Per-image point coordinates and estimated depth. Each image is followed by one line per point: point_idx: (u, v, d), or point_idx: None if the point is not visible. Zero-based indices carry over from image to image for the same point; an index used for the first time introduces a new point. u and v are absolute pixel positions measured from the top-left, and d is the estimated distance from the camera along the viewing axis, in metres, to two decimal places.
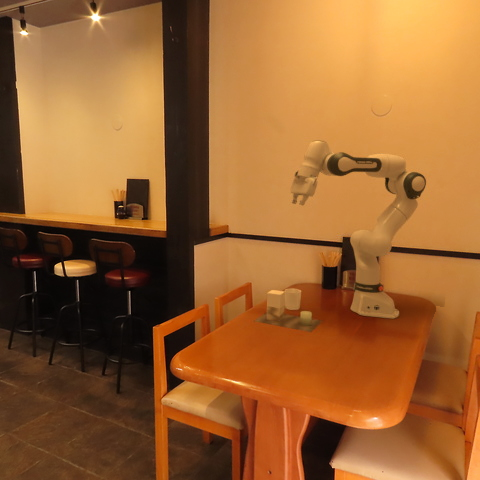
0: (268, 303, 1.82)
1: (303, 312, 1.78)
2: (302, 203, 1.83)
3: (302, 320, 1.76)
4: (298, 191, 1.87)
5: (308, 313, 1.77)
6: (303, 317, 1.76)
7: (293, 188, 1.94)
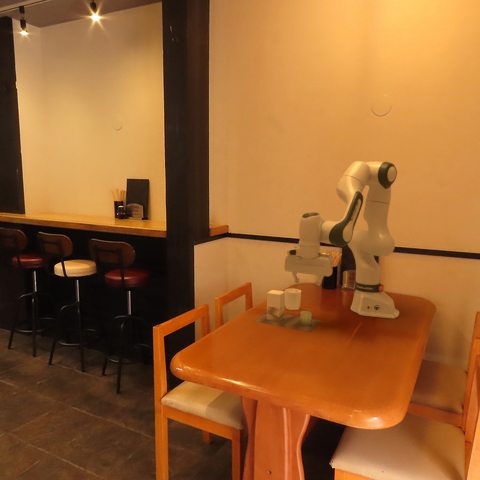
0: (268, 303, 1.82)
1: (303, 312, 1.78)
2: (319, 284, 1.73)
3: (302, 320, 1.76)
4: (307, 272, 1.73)
5: (308, 313, 1.77)
6: (303, 317, 1.76)
7: (291, 267, 1.76)
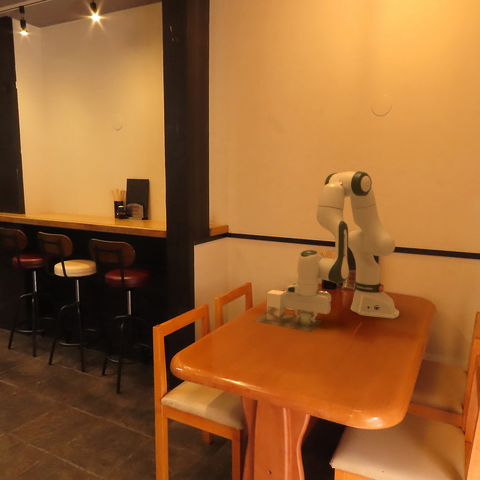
0: (268, 303, 1.82)
1: (303, 312, 1.78)
2: (314, 320, 1.76)
3: (302, 320, 1.76)
4: (305, 309, 1.76)
5: (308, 313, 1.77)
6: (303, 317, 1.76)
7: (289, 303, 1.79)
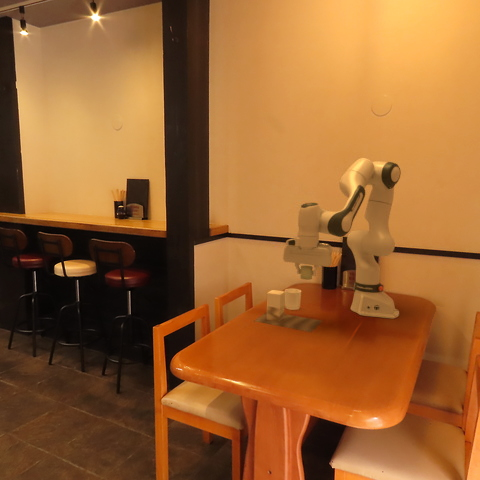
0: (268, 303, 1.82)
1: (303, 266, 1.75)
2: (315, 273, 1.74)
3: (302, 274, 1.74)
4: (306, 262, 1.73)
5: (309, 267, 1.74)
6: (304, 270, 1.73)
7: (290, 257, 1.76)
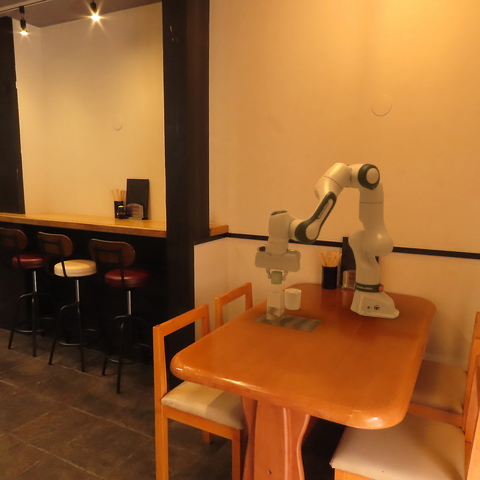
0: (268, 303, 1.82)
1: (274, 271, 1.82)
2: (284, 278, 1.80)
3: (272, 279, 1.80)
4: (276, 267, 1.79)
5: (278, 272, 1.81)
6: (273, 276, 1.80)
7: (261, 263, 1.83)
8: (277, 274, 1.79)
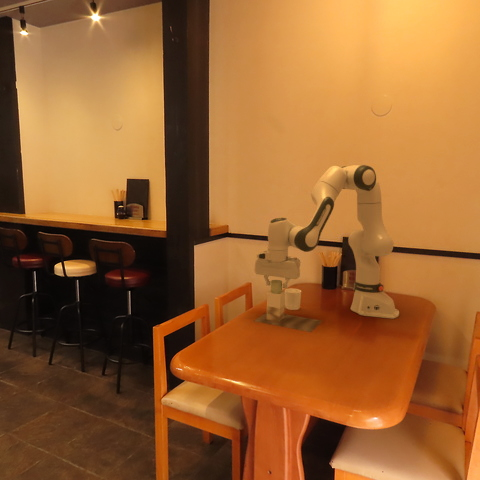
0: (268, 303, 1.82)
1: (274, 280, 1.82)
2: (286, 286, 1.80)
3: (272, 288, 1.81)
4: (276, 275, 1.80)
5: (278, 281, 1.81)
6: (273, 285, 1.80)
7: (260, 270, 1.83)
8: (277, 283, 1.80)
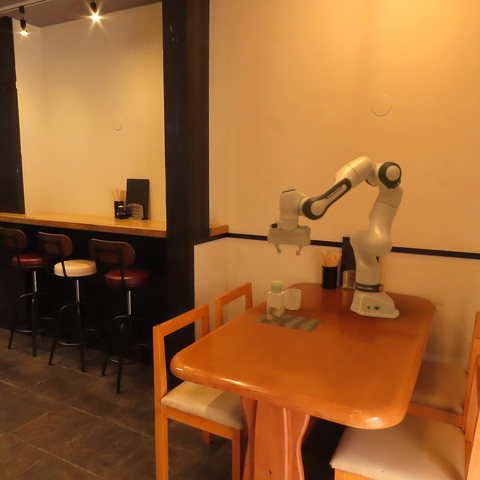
0: (268, 303, 1.82)
1: (274, 280, 1.82)
2: (299, 253, 1.92)
3: (272, 288, 1.81)
4: (288, 243, 1.92)
5: (278, 281, 1.81)
6: (273, 285, 1.80)
7: (273, 239, 1.95)
8: (277, 283, 1.80)
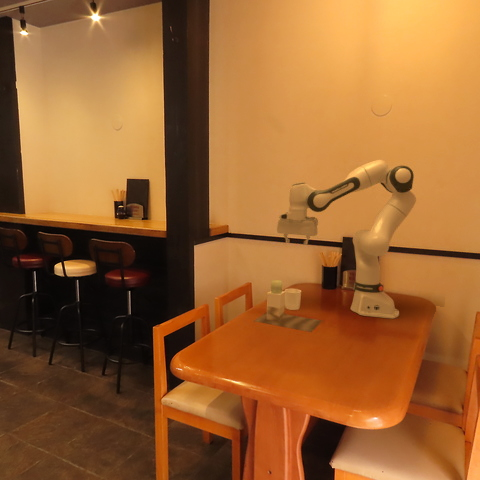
0: (268, 303, 1.82)
1: (274, 280, 1.82)
2: (306, 243, 2.05)
3: (272, 288, 1.81)
4: (296, 233, 2.05)
5: (278, 281, 1.81)
6: (273, 285, 1.80)
7: (282, 229, 2.08)
8: (277, 283, 1.80)
